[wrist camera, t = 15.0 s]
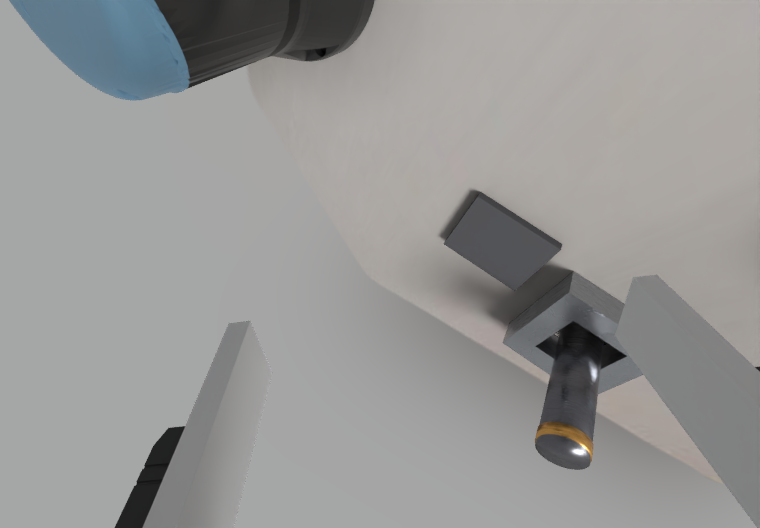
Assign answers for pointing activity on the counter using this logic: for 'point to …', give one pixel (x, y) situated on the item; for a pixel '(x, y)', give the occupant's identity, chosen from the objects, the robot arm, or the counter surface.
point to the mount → (501, 242)
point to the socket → (562, 307)
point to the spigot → (571, 399)
